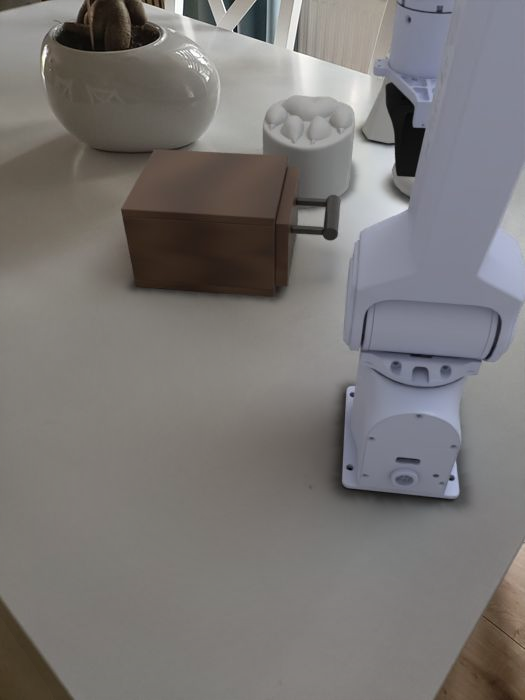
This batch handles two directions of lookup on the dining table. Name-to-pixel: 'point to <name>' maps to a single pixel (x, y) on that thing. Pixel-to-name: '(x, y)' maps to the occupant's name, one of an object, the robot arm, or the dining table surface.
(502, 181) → the robot arm
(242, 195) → the cabinet
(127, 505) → the dining table surface
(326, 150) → the lumpy-topped squat cylinder
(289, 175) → the drawer
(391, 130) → the flask
